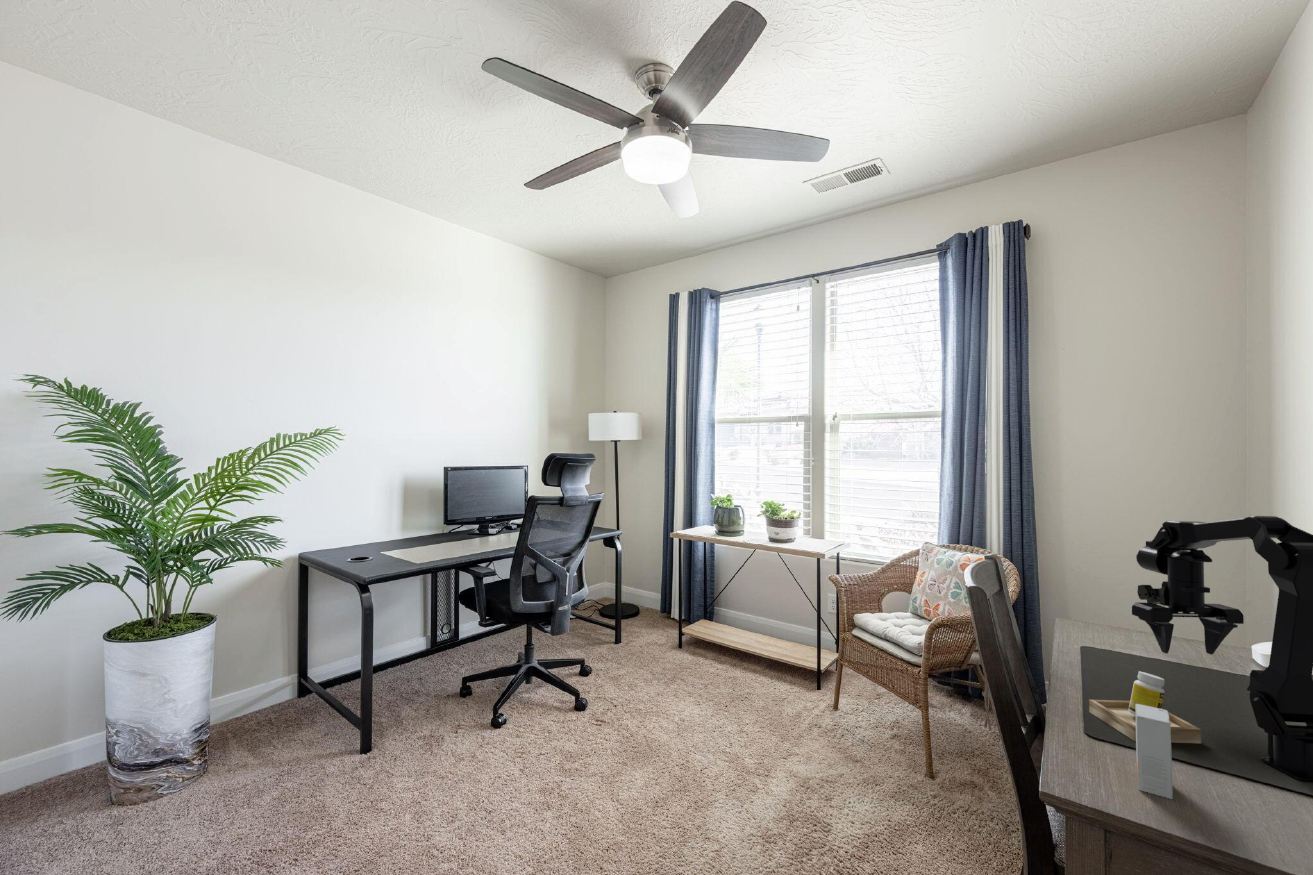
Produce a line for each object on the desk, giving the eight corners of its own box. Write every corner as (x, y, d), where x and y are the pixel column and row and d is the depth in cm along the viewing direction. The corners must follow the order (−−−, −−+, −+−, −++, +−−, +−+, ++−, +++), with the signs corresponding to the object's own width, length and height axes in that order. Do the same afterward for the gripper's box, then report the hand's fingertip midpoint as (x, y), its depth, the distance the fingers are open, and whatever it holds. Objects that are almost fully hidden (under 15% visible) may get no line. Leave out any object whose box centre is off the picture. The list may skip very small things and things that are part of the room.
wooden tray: (1201, 746, 105) (1201, 729, 105) (1134, 744, 106) (1134, 727, 106) (1149, 716, 117) (1148, 701, 117) (1089, 714, 118) (1089, 699, 118)
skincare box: (1136, 773, 95) (1134, 702, 95) (1170, 783, 92) (1168, 709, 92) (1137, 790, 90) (1136, 715, 90) (1173, 800, 87) (1171, 723, 88)
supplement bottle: (1160, 725, 108) (1168, 682, 109) (1128, 713, 111) (1137, 672, 112) (1157, 720, 112) (1165, 678, 112) (1127, 709, 115) (1135, 668, 115)
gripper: (1195, 572, 127) (1197, 641, 127) (1111, 571, 128) (1112, 639, 128) (1245, 583, 116) (1247, 659, 116) (1152, 582, 117) (1154, 657, 117)
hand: (1187, 653), depth 119 cm, fingers open, 9 cm apart
